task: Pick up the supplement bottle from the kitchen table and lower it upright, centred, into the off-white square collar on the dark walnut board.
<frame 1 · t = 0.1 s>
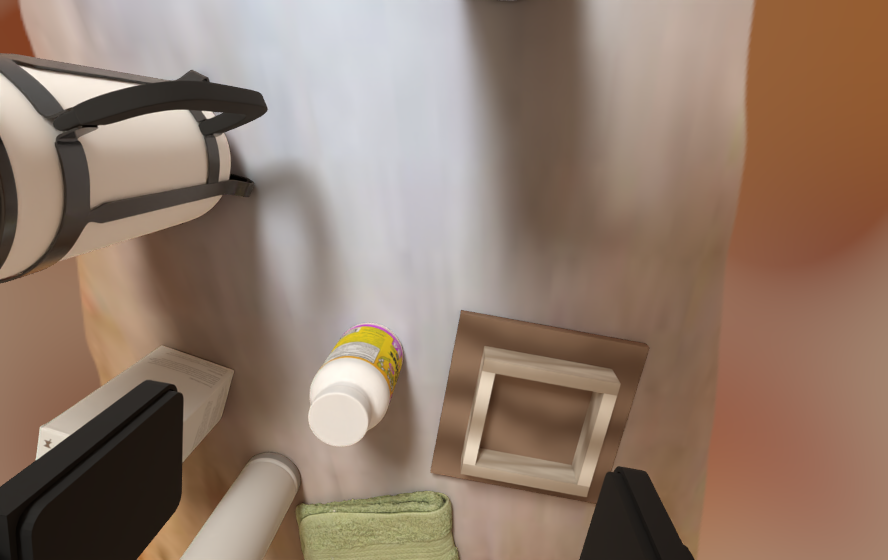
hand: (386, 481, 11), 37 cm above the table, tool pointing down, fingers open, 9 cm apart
skincare box: (195, 379, 53), on the table
collar dock: (533, 408, 51), on the table
supplement bottle: (372, 350, 51), on the table
washcloth: (382, 536, 58), on the table
travel mug: (272, 474, 56), on the table
coffee press: (191, 144, 46), on the table
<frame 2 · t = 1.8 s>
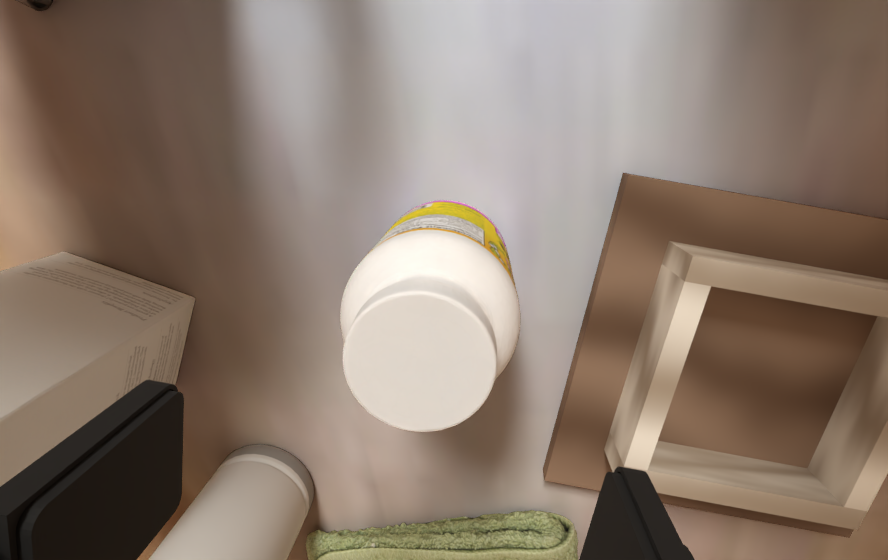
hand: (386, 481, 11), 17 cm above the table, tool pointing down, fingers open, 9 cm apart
skincare box: (127, 316, 30), on the table
collar dock: (740, 364, 28), on the table
supplement bottle: (446, 257, 27), on the table
travel mug: (266, 482, 33), on the table
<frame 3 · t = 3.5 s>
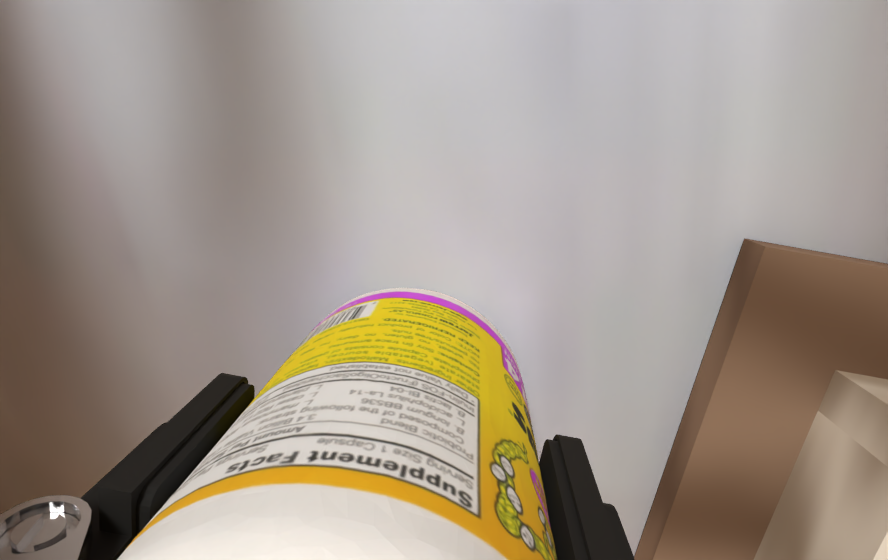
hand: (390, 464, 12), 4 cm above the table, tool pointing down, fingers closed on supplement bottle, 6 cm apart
supplement bottle: (412, 382, 15), on the table, touching gripper
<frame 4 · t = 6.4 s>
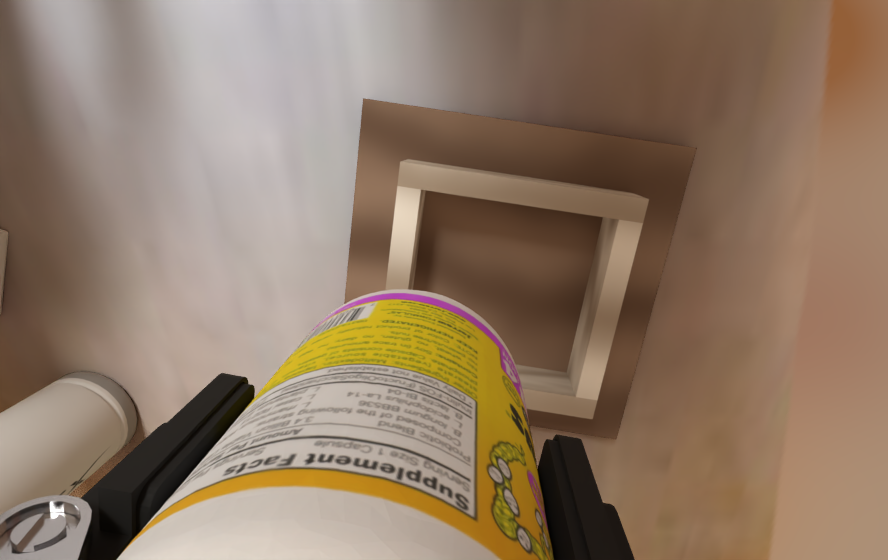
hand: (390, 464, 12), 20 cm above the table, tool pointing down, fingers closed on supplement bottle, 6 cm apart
collar dock: (499, 277, 30), on the table
supplement bottle: (410, 383, 15), point 16 cm above the table, touching gripper
travel mug: (95, 410, 35), on the table
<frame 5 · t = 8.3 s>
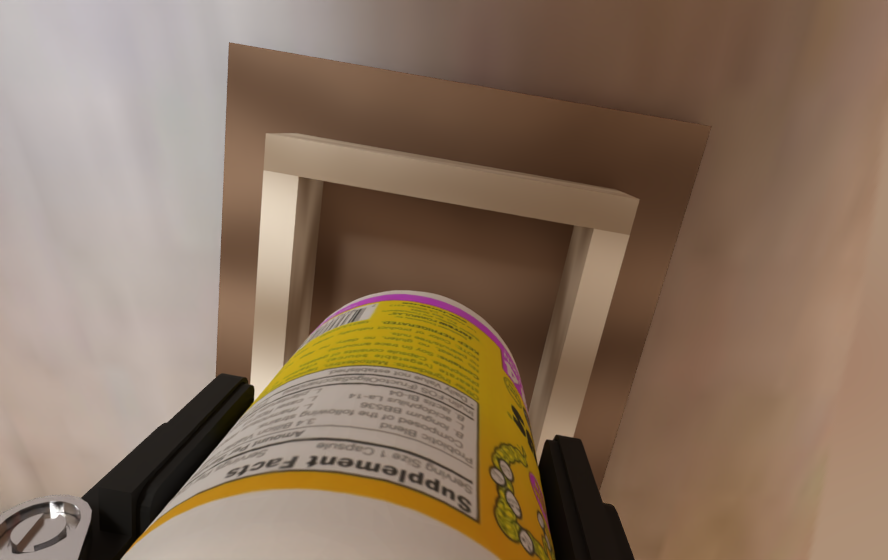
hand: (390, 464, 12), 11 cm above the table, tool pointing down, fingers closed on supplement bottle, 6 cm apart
collar dock: (432, 303, 22), on the table
supplement bottle: (411, 384, 15), point 7 cm above the table, touching gripper
when the fingers open (6 cm above the table, at t = 9.7 s): supplement bottle drops 2 cm, resting on collar dock.
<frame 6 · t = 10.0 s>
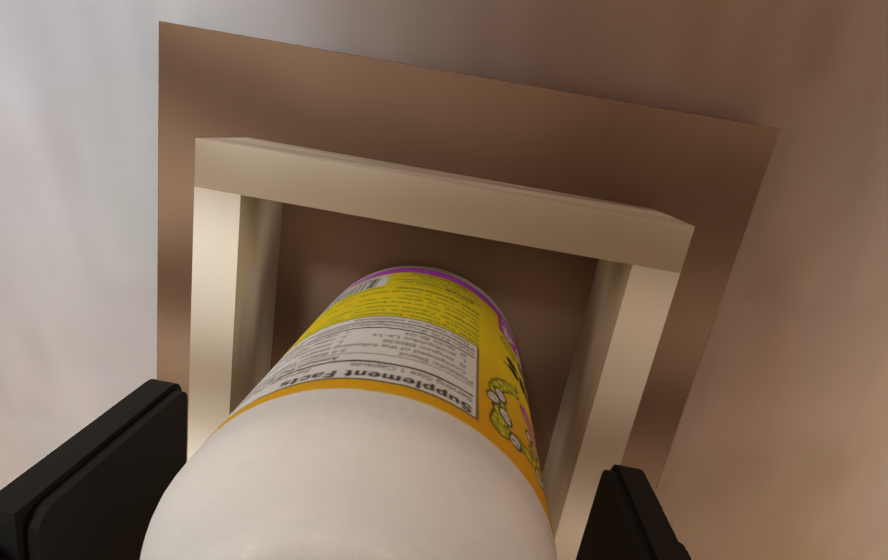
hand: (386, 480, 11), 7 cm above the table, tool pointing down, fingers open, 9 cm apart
collar dock: (421, 346, 18), on the table
supplement bottle: (419, 352, 17), point 1 cm above the table, touching collar dock
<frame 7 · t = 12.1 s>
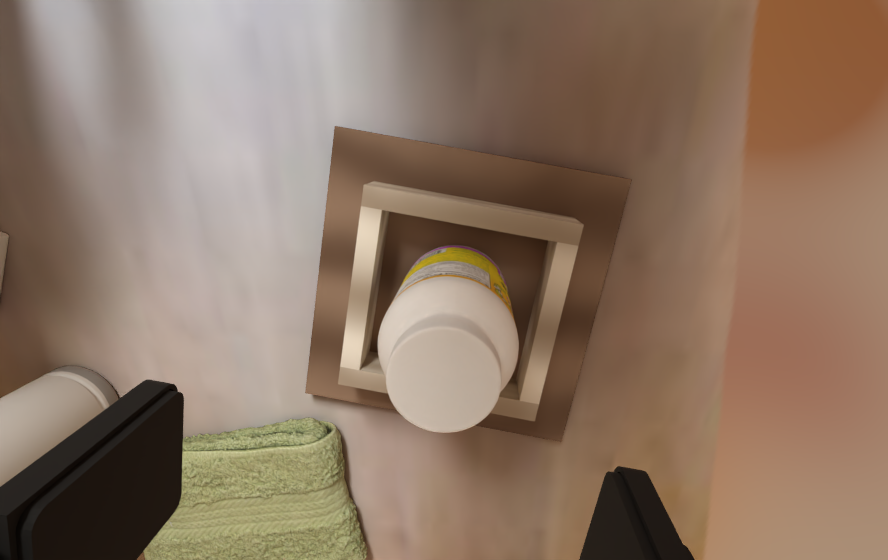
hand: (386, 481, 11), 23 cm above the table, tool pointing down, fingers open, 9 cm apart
collar dock: (456, 290, 33), on the table
supplement bottle: (455, 291, 33), point 1 cm above the table, touching collar dock
washcloth: (250, 493, 40), on the table
travel mug: (82, 402, 38), on the table
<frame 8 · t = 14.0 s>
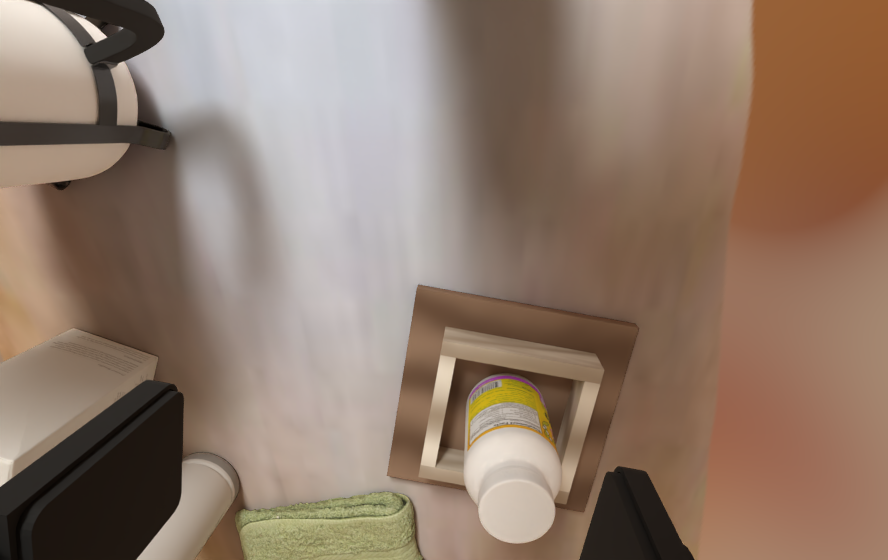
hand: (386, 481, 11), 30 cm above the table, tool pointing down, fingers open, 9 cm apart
skincare box: (114, 368, 46), on the table
collar dock: (504, 400, 44), on the table
supplement bottle: (505, 403, 43), point 1 cm above the table, touching collar dock
washcloth: (337, 545, 50), on the table
travel mug: (208, 478, 48), on the table
coffee press: (96, 87, 39), on the table
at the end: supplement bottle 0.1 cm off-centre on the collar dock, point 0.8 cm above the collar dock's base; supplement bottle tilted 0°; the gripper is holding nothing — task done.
